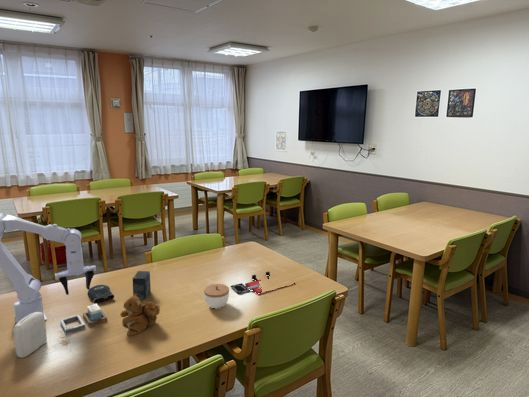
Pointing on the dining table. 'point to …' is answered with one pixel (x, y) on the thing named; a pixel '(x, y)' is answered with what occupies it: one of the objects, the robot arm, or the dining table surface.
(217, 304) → the lidded jar
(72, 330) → the gray square tray
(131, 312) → the stuffed squirrel
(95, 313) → the plug
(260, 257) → the dining table surface
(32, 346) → the photo printer
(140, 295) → the box
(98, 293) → the electronic device
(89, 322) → the brown square frame
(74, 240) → the robot arm
